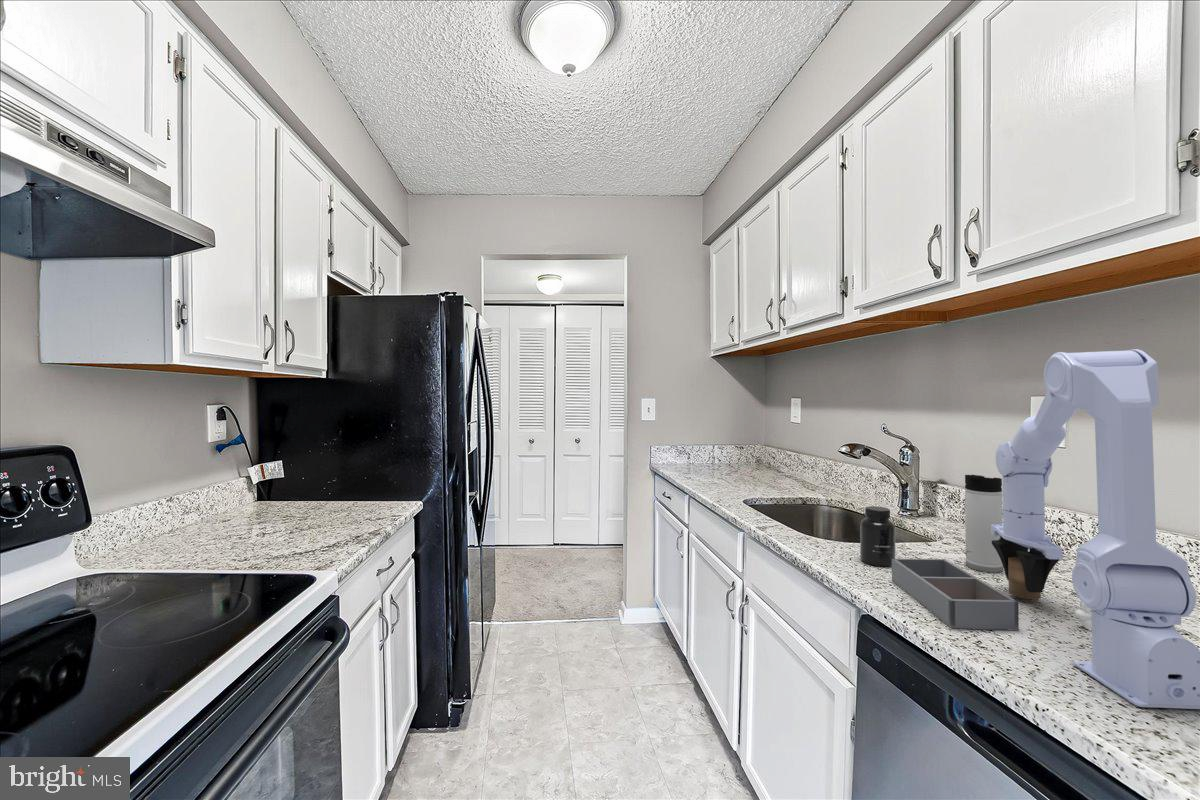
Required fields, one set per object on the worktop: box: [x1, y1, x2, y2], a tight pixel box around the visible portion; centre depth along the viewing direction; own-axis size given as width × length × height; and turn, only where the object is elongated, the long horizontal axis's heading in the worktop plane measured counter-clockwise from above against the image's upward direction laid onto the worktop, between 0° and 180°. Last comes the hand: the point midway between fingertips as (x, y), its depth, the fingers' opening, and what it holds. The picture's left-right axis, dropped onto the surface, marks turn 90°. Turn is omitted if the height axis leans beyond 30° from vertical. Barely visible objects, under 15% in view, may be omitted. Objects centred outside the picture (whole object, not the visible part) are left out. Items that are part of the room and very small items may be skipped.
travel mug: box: [964, 474, 1004, 574], centre depth 105 cm, size 6×7×20 cm
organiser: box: [891, 558, 1020, 631], centre depth 89 cm, size 20×10×4 cm, turn 174°
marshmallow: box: [1073, 600, 1092, 631], centre depth 78 cm, size 5×1×4 cm, turn 68°
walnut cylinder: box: [1007, 557, 1042, 600], centre depth 89 cm, size 4×4×6 cm
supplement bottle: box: [859, 505, 896, 568], centre depth 110 cm, size 7×7×12 cm
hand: (1024, 586), depth 90 cm, fingers closed on walnut cylinder, 4 cm apart
